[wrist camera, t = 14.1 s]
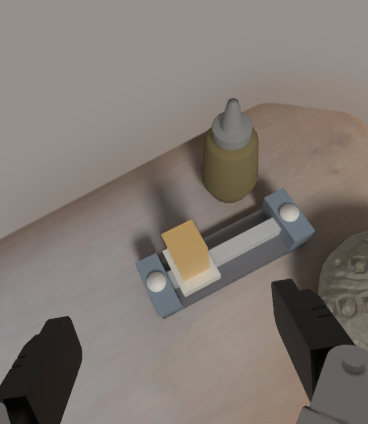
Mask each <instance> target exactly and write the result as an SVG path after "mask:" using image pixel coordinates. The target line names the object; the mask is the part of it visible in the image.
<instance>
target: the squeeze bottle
mask: <svg viewBox="0 0 368 424" xmlns="http://www.w3.org/2000/svg"><path fill="white" fill-rule="evenodd" d="M257 179H258V136H257V133H256V131H255V130H254V129H253V127H252V121H251V120H250V118H249V117H248V116H247V115H245V114H244V113H242V112H241V110H240V105H239V101H238V100H237V99H235V98H232V99H230V100H229V101H228V103H227V106H226V109H225V112H223V113H221V114H219V115H218V116H217V117H216V118H215V119H214V121H213V124H212V127H211V128H210V129H209V130H208V132H207V134H206V137H205V142H204V154H203V165H202V181H203V183H204V185H205V187H206V189H207V190H208V191H209V192H210V193H211V194H212V195H213V196H214V197H215V198H216V199H218V200H219V201H221V202H225V203H235V202H237V201H239V200H241V199H242V198H244V197H245V196H246V195H247V194H248V193H249V192H250V191H251V190H252V189H253V188H254V187H255V185H256V182H257Z"/></svg>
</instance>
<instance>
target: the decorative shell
mask: <svg viewBox="0 0 368 424" xmlns="http://www.w3.org/2000/svg"><path fill="white" fill-rule="evenodd" d="M318 296H320V297H321V299H322V300H323V301H324V303H325V304H326V305H327V308H329V309H330V311H331V312H332V314H333V316H335V318H336V319H337V320H338V322H339V323H340V324H341V326H342V327H343V329H344V330H345V331H346V333H347V334H348V335H349V337H350V338H351V339H352V341H353V342H354V343H355V345H356V346H358V347H361V348H363V349H366V350H367V351H368V230H365V231H362V232H360V233H354V234H353V235H352V236H351V237H349V238H347V239H346V240H345V241H343V242H342V243H341V244H340V245H339V246H338V247H337V248H336V250H335V251H333V252H331V253H330V255H329V256H328V258H327V260H326V262H325V263H324V264H323V265H322V271H321V273H320V275H319V288H318Z"/></svg>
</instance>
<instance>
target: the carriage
mask: <svg viewBox="0 0 368 424" xmlns="http://www.w3.org/2000/svg"><path fill="white" fill-rule="evenodd" d="M161 236H162V238H163V240H164V242H165V244H166V246H167V248H168V249H166V250H164V251H162V252H163V254H164V256H165V258H166V260H167V262H168V264H169V266H170V268H171V270H172V272H173V274H174V276H175V278H176V280H177V282H178V284H179V286H180V288H181V290H182V292H183V294H184V296H185V297H187V296H188V295H190V294H192V293H194V292H196V291H198V290H200V289H202V288H204V287H205V286H207V285H209V284H211V283H213V282H215V281H217V280H219V279H221V274H220V272H219V271H218V269H217V267H216V265H215V264H214V262H213V260H212V258H211V256H210V255H209V253H208V247H207V246H206V244H205V242H204V240H203V238H202V237H201V235H200V233H199V231H198V230H197V228H196V226H195V224H194V222H193V221H192V219H191V220H189V221H187V222H185V223H183V224H181V225H179V226H177V227H175V228H173V229H171V230H169V231H167V232H165V233H163V234H161Z"/></svg>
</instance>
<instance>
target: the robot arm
mask: <svg viewBox="0 0 368 424" xmlns="http://www.w3.org/2000/svg"><path fill="white" fill-rule="evenodd" d="M271 288H272V298H273V308H274V317H275V322H276V325H277V329H278V331H279V334H280V336H281V338H282V340H283V342H284V345H285V347H286V349H287V351H288V354H289V356H290V358H291V360H292V363H293V365H294V367H295V369H296V371H297V374H298V376H299V378H300V380H301V383H302V385H303V387H304V389H305V392H306V394H307V396H308V398H309V400H310V406H309V407H307V406H304V407H303V408H302V410H301V412H300V414H299V417H298V420H297V423H296V424H368V351H367V350H366V349H363V348H361V347H358V346H356V345H355V343H354V342H353V341H352V339H351V338H350V337H349V335H348V334H347V333H346V331H345V330H344V329H343V327H342V326H341V324H340V323H339V322H338V320H337V319H336V318H335V316H333V314H332V312H331V311H330V309H329V308H327V305H326V304H325V303H324V301H323V300H322V299H321V297H320V296H318V295H317V294H315V293H314V292H312V291H310V290H309V289H307V290H301V291H299V289H298V288H297V286H296V284H295V283H294V281H293V280H292V279H285V280H279V281H274V282H272V283H271ZM81 362H82V348H81V345H80V342H79V339H78V337H77V334H76V331H75V328H74V326H73V323H72V320H71V318H70V317H69V316H65V317H60V318H54V319H49V320H47V321H46V323H45V325H44V327H43V328H42V330H41V332H40V334H38V335H35V336H34V337H33V338H32V339H31V340H30V341H29V342H28V343H27V344H26V345H24V347H23V349H22V350H21V352H20V354H19V355H18V359H16V360H15V362H14V364H13V365H12V369H10V370H9V372H8V374H7V375H6V377H5V379H4V380H3V382H2V384H1V385H0V424H60V423H61V420H62V417H63V414H64V411H65V408H66V406H67V403H68V400H69V397H70V394H71V391H72V388H73V385H74V383H75V380H76V377H77V374H78V371H79V368H80V365H81Z"/></svg>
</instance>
